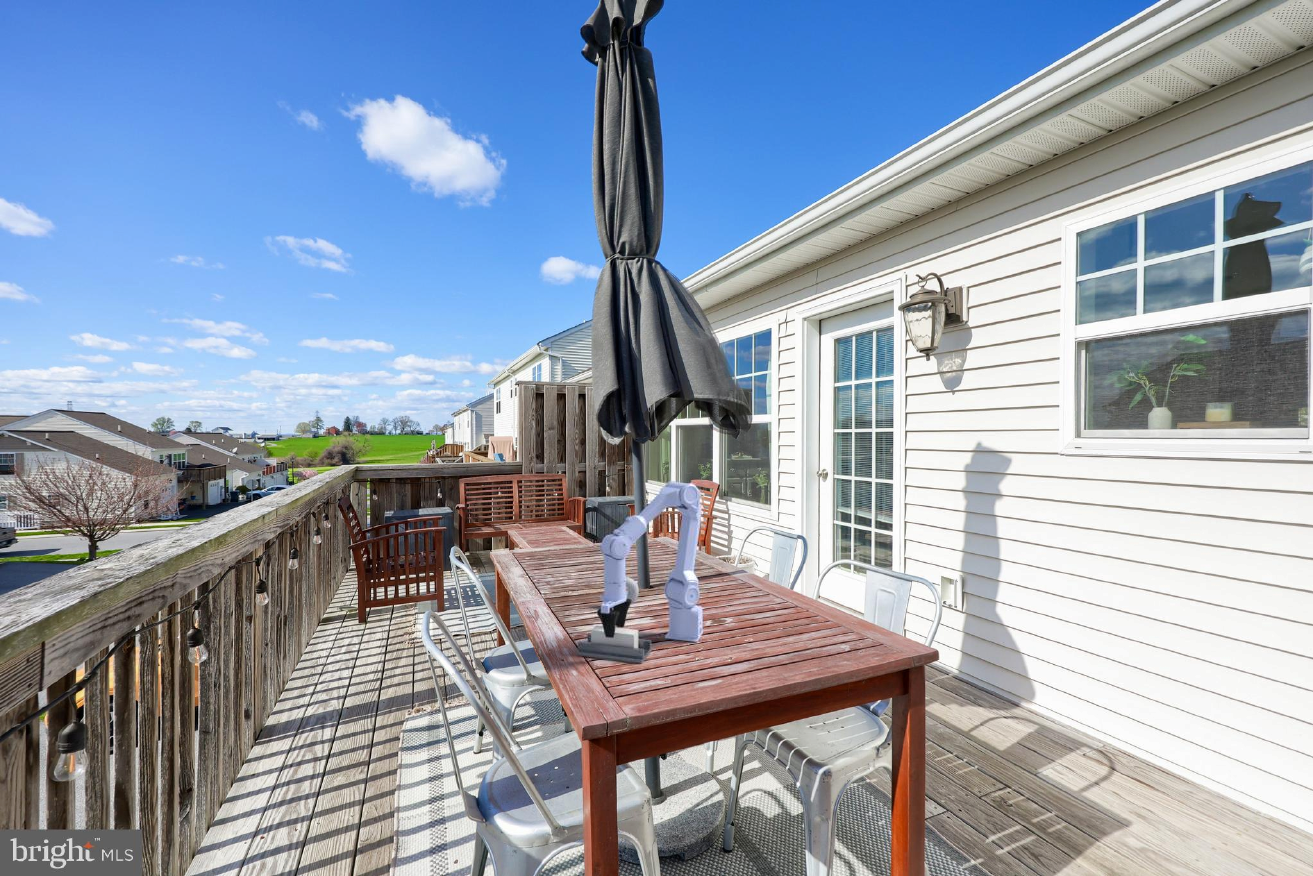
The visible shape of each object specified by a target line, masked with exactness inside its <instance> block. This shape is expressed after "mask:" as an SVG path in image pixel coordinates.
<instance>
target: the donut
mask: <svg viewBox="0 0 1313 876" xmlns="http://www.w3.org/2000/svg"><path fill="white" fill-rule="evenodd" d="M626 589H628V597H627V598H626V599H631V600H632V602H631V604H630V606H631V605H632V604H634V603H635V602H636V601H637V599H638V597H639V591H640V590H639V589H640V588H639V586H638V583H637V582H636V581H635V580H634V579H633V578H631V577H629V576H626Z"/></svg>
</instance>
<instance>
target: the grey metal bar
mask: <svg viewBox="0 0 1313 876" xmlns="http://www.w3.org/2000/svg"><path fill="white" fill-rule="evenodd" d="M590 633H591V643H599V644H607V645H615V646H624V647H632V648H638V639H639V630H638V629H631V628H624V627H623V628H622V627H615V634H614V637H613V638H608V637H606V636H605V633H604V629H603V625H595V626H594V627H593V628H592V629H590Z"/></svg>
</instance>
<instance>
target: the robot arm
mask: <svg viewBox="0 0 1313 876" xmlns="http://www.w3.org/2000/svg"><path fill="white" fill-rule="evenodd" d="M701 495H702V492H701V490H700V489H699V488H698V487H697V485H695V484H694V483H689V482H687V483H686V482H680V481H679V482H677V481H674V480H672V481H668V482H666V484H665V485H664V486H662V487H661V488H660V490H659V492H658V493H657V495H656V496H655V497H654V498H653V499H652V500H651V501H650V502H649V503H648V504H647V506H646V507H645V508H644V509H643V510H642V511H641V512H640V513H639V514H638V515H635V514H634V515H631V516H627V517H626V518H625V521H624V522H623V523H622V524H621V525H620V526H619V527H618V528H616V529H614V530H613V533H612V534H607V535H605V536H604V538H602V540H601V544H600V545H599V551H600V552H601V554H602V556H603V594H602V595H600V596H599V599H600V601H602V604H601V605H600V608H598V609H597V611H596V612H597V616H598V617H599V620H600V622H601V626H603V629H604V633H605V636H606V637H608V638H613V637H614V634H615V628H623V629H624V627H625V625H626V619H627V615H628V611H629V609H630V606H631V605H632V604H631V602H632V600H631V599H626V598H627V597H628V593H629V589H628V590H627V587H626V577H627V576H626V567H627V565H626V557H627V556H629V554H630V551H631V547H632V546H633V545H634V544H635V542H637V540H639V539H640V537H641V536H643V535H644V534H645V533H646V532H647V530H648V529H647V527H648V524H649V523H651V521H653V520H655V518H656V517H657V516H660V514H661V513H662V512H664V511H665V510H666V509H667V508H673V507H675V508H676V509H677V510H678V512H679V513H680V515H681V520H680V521H681V522H680V529H679V530H680V531H679V536H678V544H677V548H676V549H677V551H676V557H675V558H676V559H675V565H674V569H673V570H672V571H671V572H670V573H669V574H668V579H667V581H666V582H665V584H664V589H663V590H664V591H663V593H664V596H665V597H666V598H667V601H668V603H669V604H668V607H669V609H668V611H669V613H668V615H669V616H668V617H669V618H668V619H669V620H668V624H669V625H668V630H669V631H668V632H667V633H666V634H665V636H664V639H668V640H676V641H677V640H678V641H685V642H686V641H687V642H695V643H698V642H699V639H701V636H703V633H704V630H703V625H704V624H703V623H704V622H703V619H704V618H703V617H704V616H703V615H704V614H703V607H702V606H700V605H697V603H698V601H699V599H700V597H701V596H700V595H701V594H700V593H701V592H700V589H699V582H700V581H699V579H698V577H697V576H696V573H694V572H695V571H694V570H695V563H696V558H697V549H698V544H699V543H698V541H699V535H700V526H701V521H702V513H703V512H702V511H703V510H702V505H701ZM630 604H631V605H630Z"/></svg>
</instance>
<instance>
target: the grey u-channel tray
mask: <svg viewBox="0 0 1313 876" xmlns="http://www.w3.org/2000/svg"><path fill="white" fill-rule="evenodd" d="M652 651H653V646H652V640H651V639H642V638H638V648H632V647H624V646H615V645H607V644H599V643H591V632H588V633H587V641H578V642H577V650H576V656H579V657H585V658H586V657H587V658H595V659H602V660H610V661H616V662H617V661H618V662H624V663H633V664H634V663H635V664H641V665H643V663H644V661H645V660H647V659H646V658H647V657H648V656H649V655H650V654H651V652H652Z"/></svg>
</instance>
